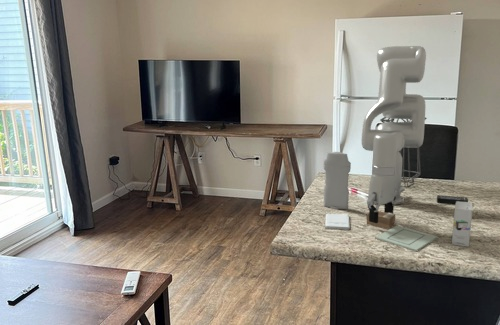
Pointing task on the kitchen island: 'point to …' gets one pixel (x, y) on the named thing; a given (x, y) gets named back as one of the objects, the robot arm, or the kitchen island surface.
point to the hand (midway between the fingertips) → (381, 218)
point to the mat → (406, 238)
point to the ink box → (462, 223)
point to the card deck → (383, 220)
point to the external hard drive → (337, 221)
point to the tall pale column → (336, 180)
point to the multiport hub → (450, 199)
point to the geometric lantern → (408, 157)
